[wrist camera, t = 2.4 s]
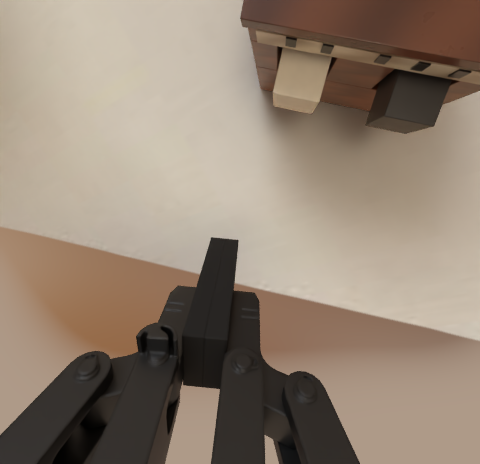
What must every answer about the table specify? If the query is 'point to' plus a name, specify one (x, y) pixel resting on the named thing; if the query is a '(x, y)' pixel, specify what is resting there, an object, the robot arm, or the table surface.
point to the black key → (407, 101)
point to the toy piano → (369, 42)
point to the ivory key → (300, 80)
